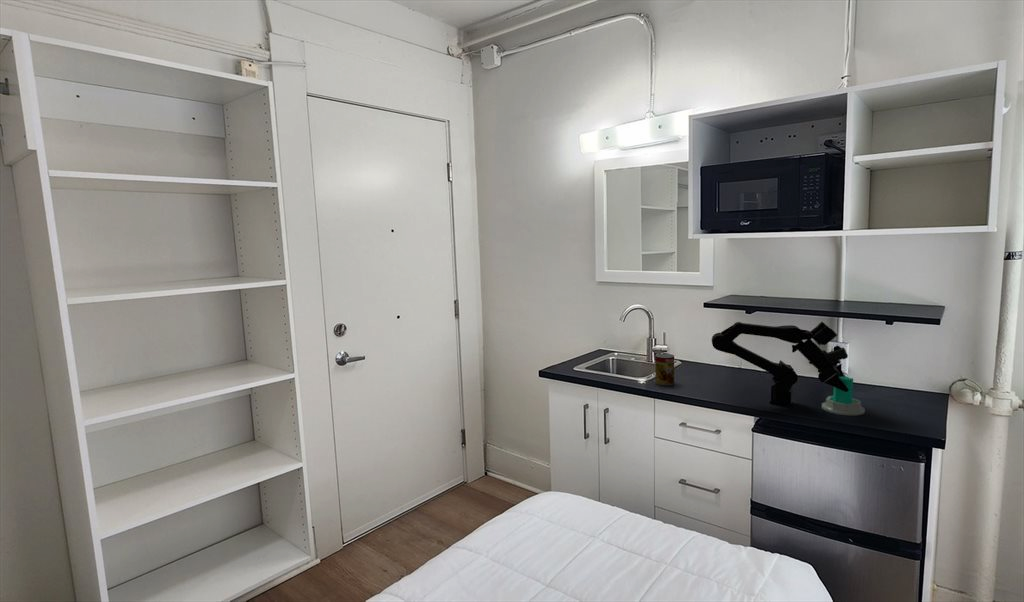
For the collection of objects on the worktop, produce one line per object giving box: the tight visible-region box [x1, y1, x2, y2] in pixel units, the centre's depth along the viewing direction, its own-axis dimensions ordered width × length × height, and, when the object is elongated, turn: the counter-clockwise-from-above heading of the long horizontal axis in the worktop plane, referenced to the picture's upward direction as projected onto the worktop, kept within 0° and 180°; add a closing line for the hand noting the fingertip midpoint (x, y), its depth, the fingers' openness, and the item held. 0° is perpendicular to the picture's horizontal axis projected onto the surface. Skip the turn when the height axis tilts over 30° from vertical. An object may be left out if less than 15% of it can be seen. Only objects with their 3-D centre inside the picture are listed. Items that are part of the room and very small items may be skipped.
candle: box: [832, 373, 854, 404], centre depth 190 cm, size 6×6×12 cm
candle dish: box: [821, 395, 866, 417], centre depth 190 cm, size 13×13×4 cm
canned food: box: [654, 353, 675, 386], centre depth 231 cm, size 8×8×12 cm
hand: (848, 388), depth 189 cm, fingers open, 9 cm apart
